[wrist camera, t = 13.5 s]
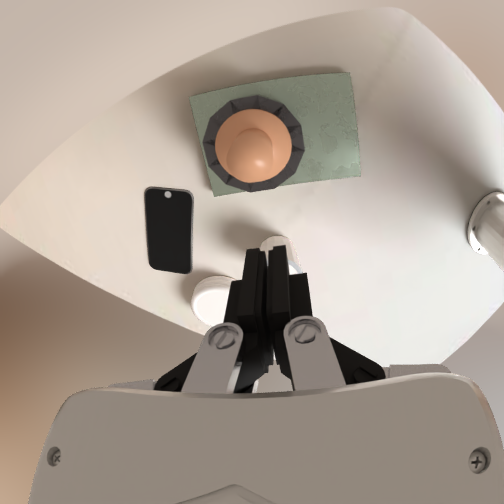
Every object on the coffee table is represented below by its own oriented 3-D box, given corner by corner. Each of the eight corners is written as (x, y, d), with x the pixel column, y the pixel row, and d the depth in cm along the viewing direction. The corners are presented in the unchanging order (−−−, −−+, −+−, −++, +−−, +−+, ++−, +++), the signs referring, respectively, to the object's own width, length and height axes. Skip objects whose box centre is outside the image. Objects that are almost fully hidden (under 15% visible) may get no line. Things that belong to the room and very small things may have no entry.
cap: (282, 102, 29) (289, 107, 21) (293, 166, 33) (302, 196, 25) (214, 114, 30) (193, 126, 22) (228, 176, 34) (215, 209, 26)
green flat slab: (346, 73, 29) (362, 70, 24) (357, 172, 36) (372, 189, 31) (191, 96, 32) (176, 99, 26) (215, 192, 39) (207, 212, 34)
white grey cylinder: (251, 235, 43) (248, 262, 37) (296, 228, 42) (301, 255, 36) (259, 271, 46) (257, 301, 41) (301, 266, 45) (305, 295, 40)
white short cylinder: (202, 317, 53) (199, 331, 50) (187, 277, 48) (182, 290, 45) (254, 313, 52) (253, 327, 49) (244, 271, 47) (242, 284, 44)
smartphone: (193, 191, 39) (191, 275, 47) (194, 189, 40) (192, 273, 48) (143, 186, 39) (149, 269, 47) (145, 185, 39) (150, 266, 48)
